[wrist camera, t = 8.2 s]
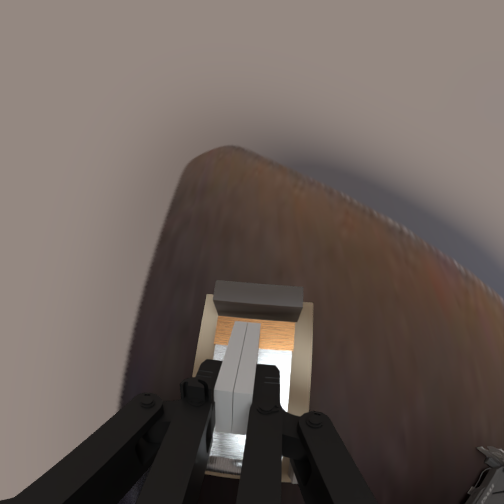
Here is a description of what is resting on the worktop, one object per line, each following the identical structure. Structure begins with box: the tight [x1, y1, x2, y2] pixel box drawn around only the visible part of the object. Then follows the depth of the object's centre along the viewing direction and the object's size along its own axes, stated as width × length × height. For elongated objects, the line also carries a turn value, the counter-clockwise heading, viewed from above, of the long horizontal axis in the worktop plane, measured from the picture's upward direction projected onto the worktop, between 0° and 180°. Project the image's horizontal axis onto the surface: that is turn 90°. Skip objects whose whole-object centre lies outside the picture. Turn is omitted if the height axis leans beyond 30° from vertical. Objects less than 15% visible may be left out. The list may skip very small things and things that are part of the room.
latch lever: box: [206, 316, 295, 475], centre depth 16 cm, size 2×5×11 cm
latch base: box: [192, 280, 313, 484], centre depth 17 cm, size 14×8×4 cm, turn 174°
